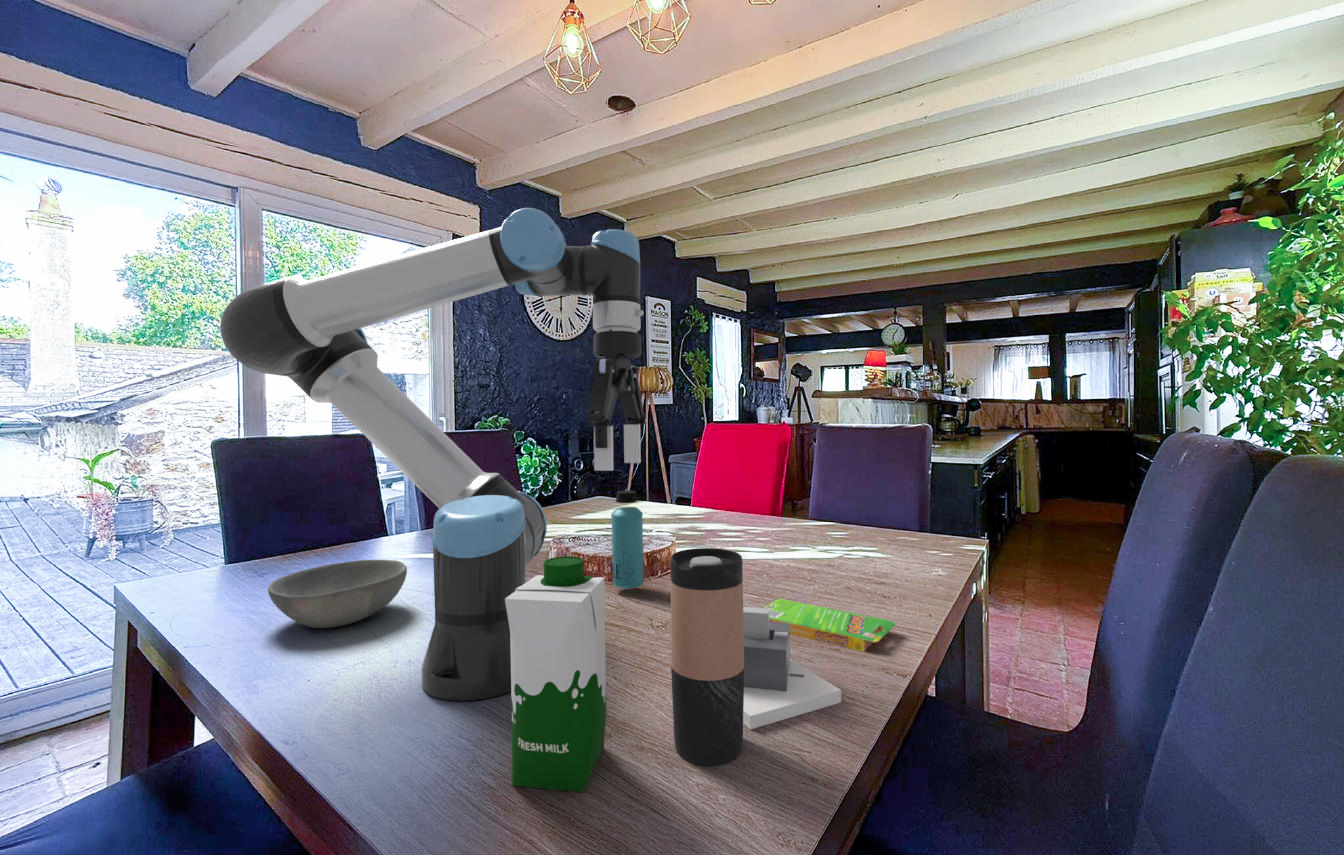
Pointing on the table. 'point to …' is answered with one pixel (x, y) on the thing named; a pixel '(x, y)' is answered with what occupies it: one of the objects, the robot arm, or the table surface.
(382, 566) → the bowl
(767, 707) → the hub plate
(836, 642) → the game box
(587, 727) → the milk carton
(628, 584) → the beverage bottle
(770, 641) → the gray slotted box
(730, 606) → the travel mug
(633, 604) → the table surface
